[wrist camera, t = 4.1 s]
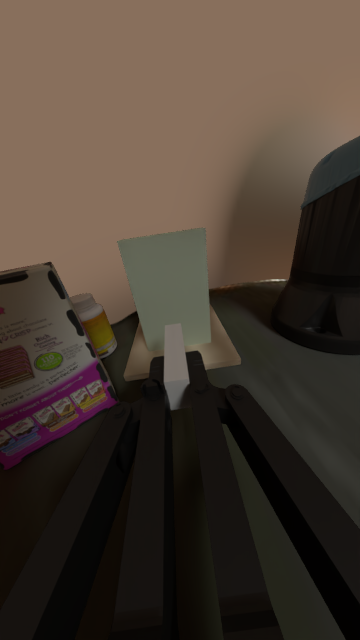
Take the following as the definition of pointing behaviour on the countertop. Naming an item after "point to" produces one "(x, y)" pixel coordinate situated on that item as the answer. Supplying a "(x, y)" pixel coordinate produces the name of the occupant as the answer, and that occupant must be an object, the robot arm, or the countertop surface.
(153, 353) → the board
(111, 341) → the supplement bottle
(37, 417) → the candy bar box
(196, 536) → the countertop surface
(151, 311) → the pale green rectangular block
